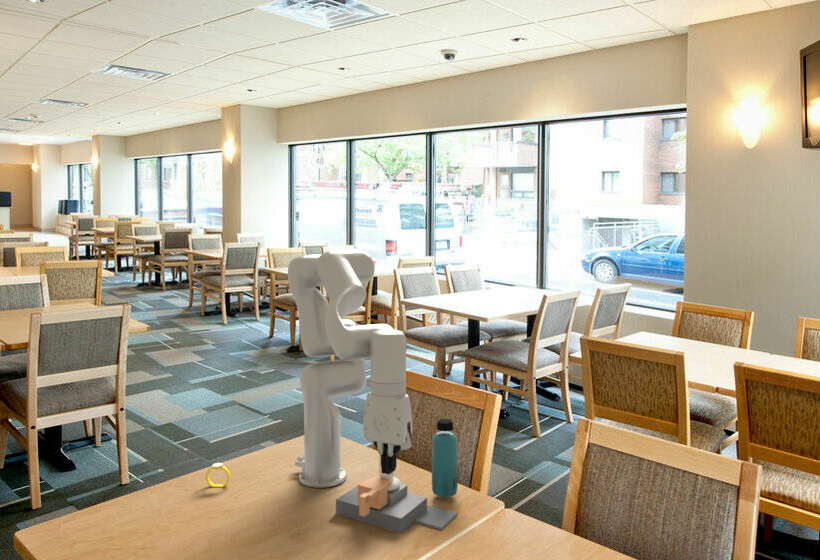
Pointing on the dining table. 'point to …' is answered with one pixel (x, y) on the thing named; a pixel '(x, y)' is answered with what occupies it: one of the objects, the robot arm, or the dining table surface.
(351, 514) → the grey base plate
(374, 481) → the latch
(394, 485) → the plug
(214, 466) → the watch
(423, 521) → the mat
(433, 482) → the beverage bottle
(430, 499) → the dining table surface
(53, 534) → the dining table surface
